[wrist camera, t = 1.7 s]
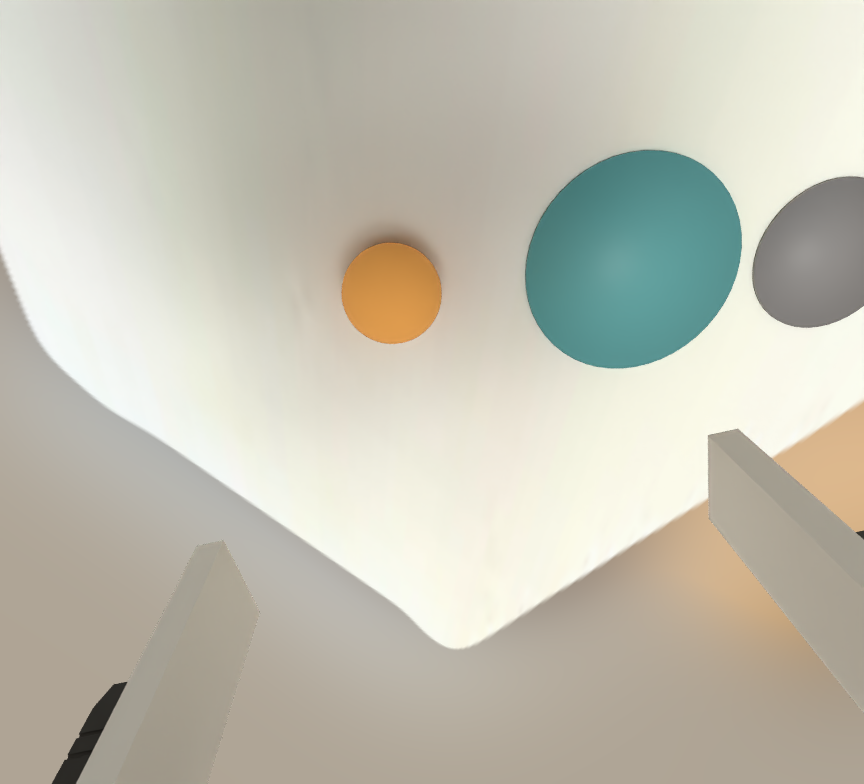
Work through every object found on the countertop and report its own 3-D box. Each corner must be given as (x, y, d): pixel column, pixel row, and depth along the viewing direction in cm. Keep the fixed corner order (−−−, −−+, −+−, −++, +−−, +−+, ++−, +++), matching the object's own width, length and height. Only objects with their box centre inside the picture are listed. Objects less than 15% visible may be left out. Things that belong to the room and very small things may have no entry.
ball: (327, 269, 32) (313, 292, 27) (405, 216, 31) (405, 230, 26) (381, 342, 34) (377, 377, 29) (455, 294, 33) (465, 322, 28)
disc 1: (485, 235, 32) (486, 236, 31) (693, 99, 29) (695, 99, 29) (583, 401, 37) (584, 403, 36) (768, 297, 34) (770, 298, 34)
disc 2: (732, 234, 32) (734, 234, 32) (883, 143, 31) (886, 143, 30) (778, 352, 36) (780, 353, 36) (916, 276, 34) (919, 277, 34)
